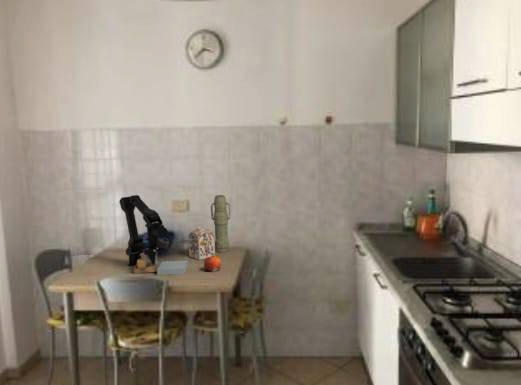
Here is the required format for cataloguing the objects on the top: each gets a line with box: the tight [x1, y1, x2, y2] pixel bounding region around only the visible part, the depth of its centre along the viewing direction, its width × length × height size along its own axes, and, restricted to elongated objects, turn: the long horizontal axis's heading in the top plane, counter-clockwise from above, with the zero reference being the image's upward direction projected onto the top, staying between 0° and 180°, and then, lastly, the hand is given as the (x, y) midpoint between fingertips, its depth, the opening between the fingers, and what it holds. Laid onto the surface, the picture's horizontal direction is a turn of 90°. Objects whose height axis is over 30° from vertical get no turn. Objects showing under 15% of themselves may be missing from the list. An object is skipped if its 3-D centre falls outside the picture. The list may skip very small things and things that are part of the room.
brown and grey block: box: [133, 254, 160, 274], centre depth 269 cm, size 12×8×8 cm, turn 90°
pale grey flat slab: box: [156, 260, 189, 276], centre depth 270 cm, size 14×16×3 cm
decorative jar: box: [187, 226, 216, 261], centre depth 296 cm, size 12×12×18 cm
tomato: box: [203, 255, 222, 272], centre depth 267 cm, size 9×9×8 cm
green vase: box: [210, 194, 231, 253], centre depth 307 cm, size 9×12×35 cm
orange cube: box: [137, 258, 148, 268], centre depth 269 cm, size 4×4×4 cm
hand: (154, 263), depth 269 cm, fingers closed on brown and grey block, 3 cm apart
